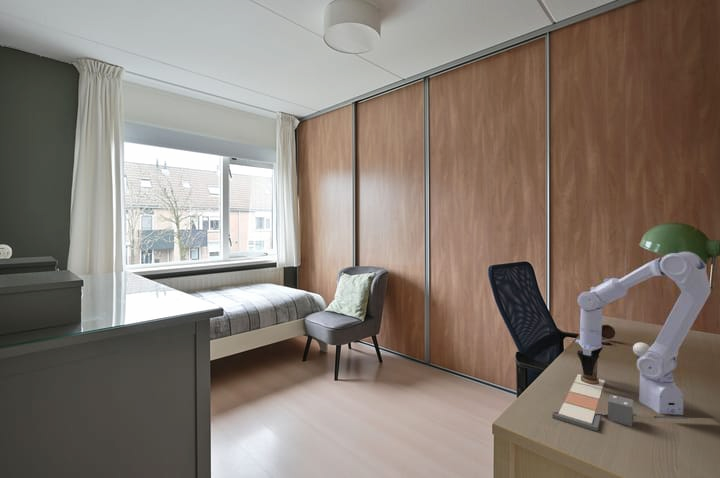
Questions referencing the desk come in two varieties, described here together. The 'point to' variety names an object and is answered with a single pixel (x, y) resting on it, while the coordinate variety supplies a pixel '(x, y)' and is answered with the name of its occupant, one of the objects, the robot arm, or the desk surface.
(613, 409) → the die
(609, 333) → the compass
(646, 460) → the desk surface
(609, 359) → the desk surface
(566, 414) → the board
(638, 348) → the seamed sphere
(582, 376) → the pawn
